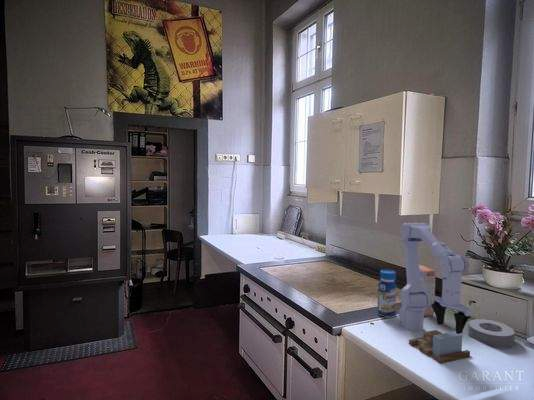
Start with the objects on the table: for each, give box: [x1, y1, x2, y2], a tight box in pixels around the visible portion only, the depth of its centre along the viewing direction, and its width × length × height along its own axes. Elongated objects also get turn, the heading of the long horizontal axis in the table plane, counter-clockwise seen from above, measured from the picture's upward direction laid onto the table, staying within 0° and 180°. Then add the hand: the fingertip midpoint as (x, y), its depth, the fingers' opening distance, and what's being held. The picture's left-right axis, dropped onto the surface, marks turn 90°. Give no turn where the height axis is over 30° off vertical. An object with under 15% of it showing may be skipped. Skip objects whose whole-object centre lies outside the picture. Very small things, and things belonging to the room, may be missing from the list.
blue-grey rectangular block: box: [432, 330, 463, 357], centre depth 125 cm, size 3×10×7 cm, turn 110°
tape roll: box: [467, 318, 516, 349], centre depth 140 cm, size 15×15×5 cm
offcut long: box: [418, 339, 433, 346], centre depth 132 cm, size 3×9×2 cm, turn 110°
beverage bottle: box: [376, 269, 398, 319], centre depth 162 cm, size 8×8×20 cm
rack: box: [408, 336, 472, 365], centre depth 128 cm, size 15×14×2 cm
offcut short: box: [422, 329, 443, 342], centre depth 132 cm, size 3×6×2 cm, turn 110°
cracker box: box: [410, 263, 437, 317], centre depth 167 cm, size 14×6×21 cm, turn 9°
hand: (449, 328), depth 124 cm, fingers open, 7 cm apart
